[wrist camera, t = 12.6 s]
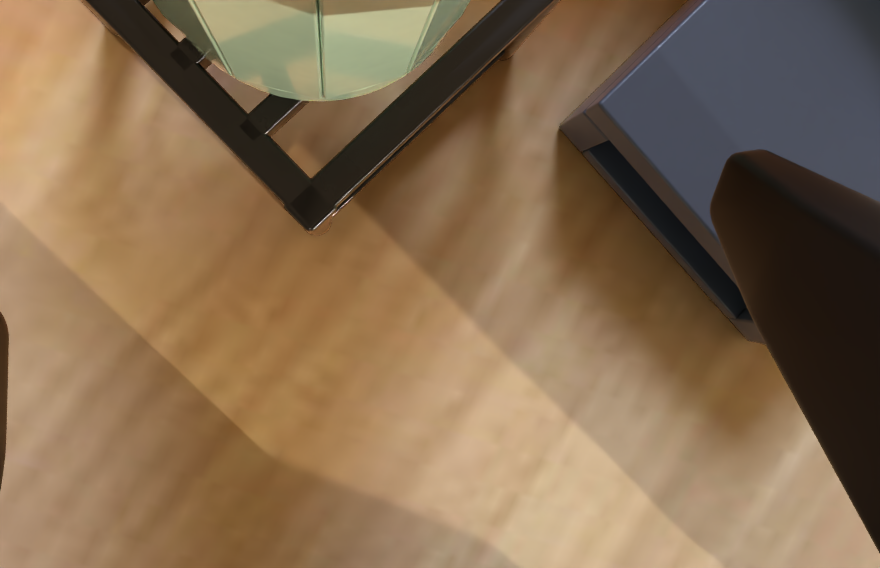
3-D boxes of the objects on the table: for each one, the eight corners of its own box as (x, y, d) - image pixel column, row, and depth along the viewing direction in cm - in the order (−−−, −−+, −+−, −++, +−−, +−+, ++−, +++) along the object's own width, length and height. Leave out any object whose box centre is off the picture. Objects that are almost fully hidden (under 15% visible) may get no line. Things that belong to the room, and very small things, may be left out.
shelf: (747, 341, 21) (878, 367, 16) (557, 127, 19) (633, 81, 14) (934, 146, 21) (1115, 112, 16) (761, -72, 20) (901, -179, 15)
